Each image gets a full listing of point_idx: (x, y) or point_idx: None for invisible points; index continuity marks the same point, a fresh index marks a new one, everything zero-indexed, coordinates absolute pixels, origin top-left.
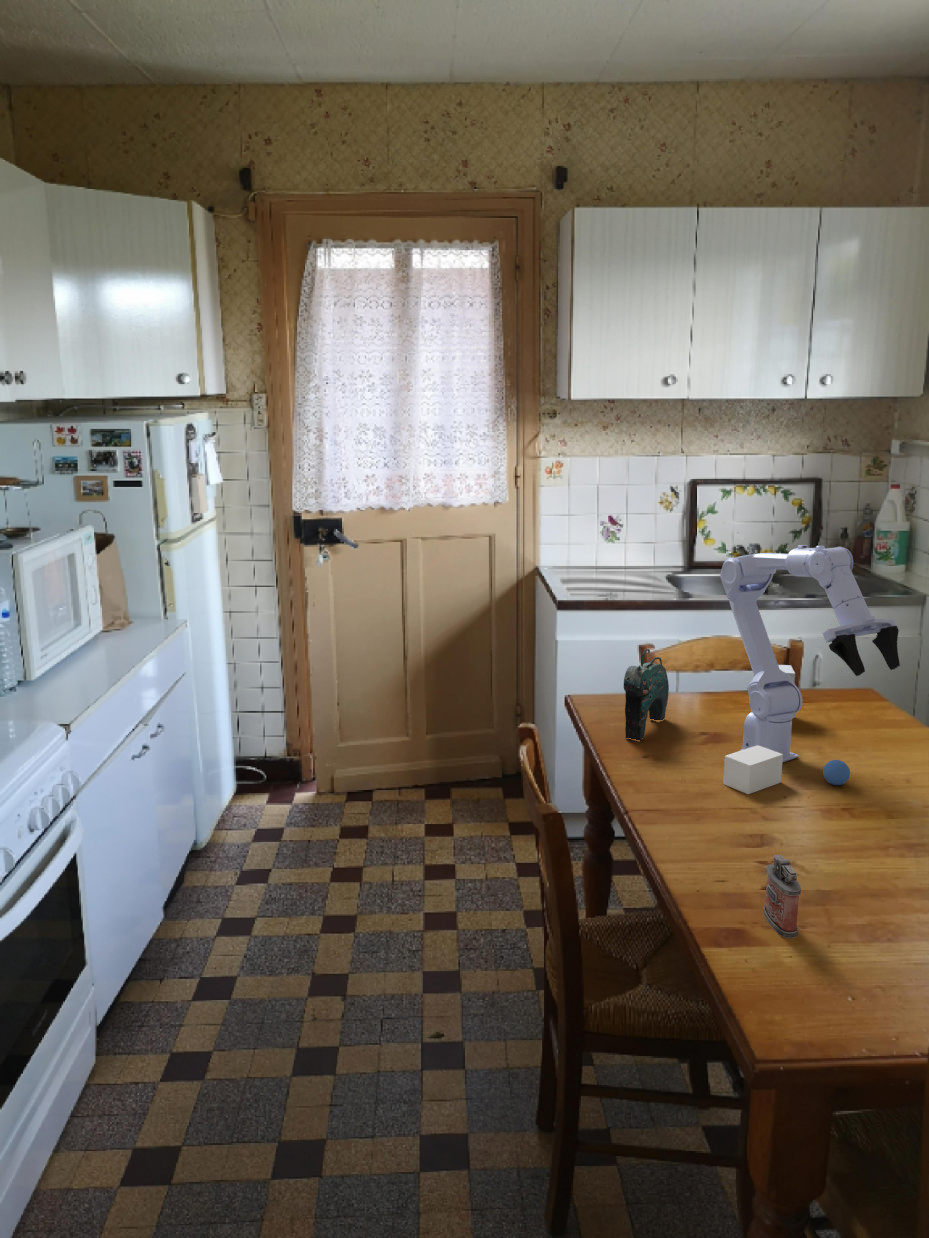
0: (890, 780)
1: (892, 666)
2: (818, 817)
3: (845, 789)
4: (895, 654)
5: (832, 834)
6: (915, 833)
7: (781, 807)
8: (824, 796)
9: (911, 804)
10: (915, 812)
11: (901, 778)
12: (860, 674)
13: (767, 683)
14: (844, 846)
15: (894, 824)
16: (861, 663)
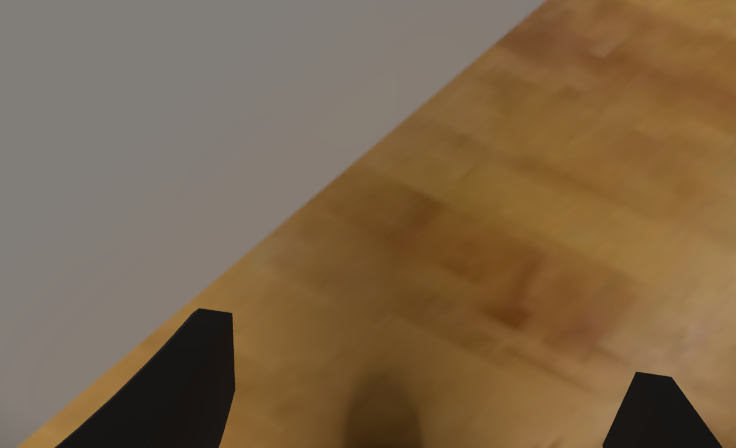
0: None
1: (227, 377)
2: (642, 309)
3: (385, 434)
4: (170, 383)
5: (694, 196)
6: (450, 92)
7: None
8: (497, 425)
9: (287, 245)
10: (326, 197)
11: None
12: (614, 425)
13: None
14: (722, 119)
15: (457, 164)
16: (687, 430)
